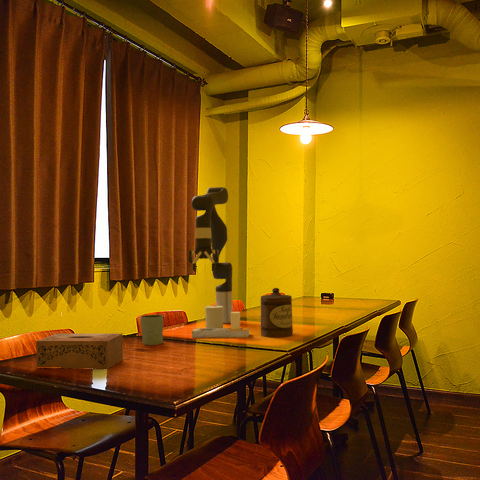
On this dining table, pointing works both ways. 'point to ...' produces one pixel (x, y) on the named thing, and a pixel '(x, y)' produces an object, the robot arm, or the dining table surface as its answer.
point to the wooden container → (276, 315)
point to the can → (214, 316)
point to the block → (235, 320)
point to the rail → (220, 333)
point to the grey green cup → (152, 329)
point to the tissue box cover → (80, 350)
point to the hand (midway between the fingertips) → (204, 271)
